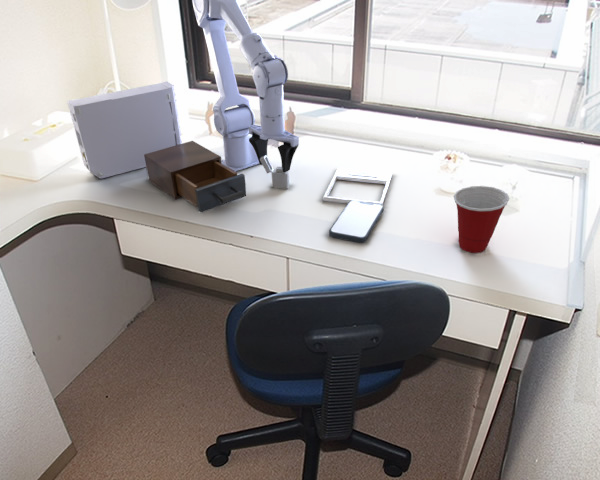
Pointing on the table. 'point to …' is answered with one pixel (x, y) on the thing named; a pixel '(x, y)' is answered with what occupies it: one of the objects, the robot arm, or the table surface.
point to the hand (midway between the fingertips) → (274, 167)
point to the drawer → (210, 185)
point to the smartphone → (356, 221)
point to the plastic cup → (478, 215)
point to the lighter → (276, 174)
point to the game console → (125, 127)
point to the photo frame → (362, 177)
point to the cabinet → (176, 164)
